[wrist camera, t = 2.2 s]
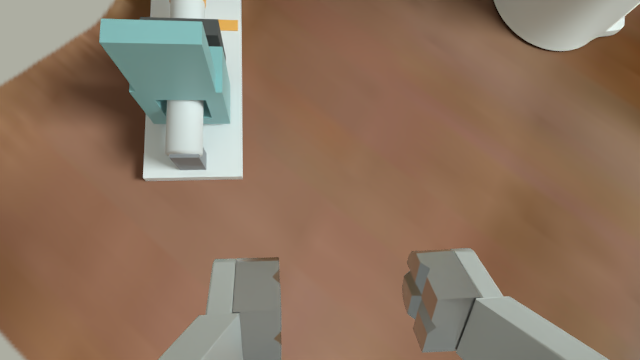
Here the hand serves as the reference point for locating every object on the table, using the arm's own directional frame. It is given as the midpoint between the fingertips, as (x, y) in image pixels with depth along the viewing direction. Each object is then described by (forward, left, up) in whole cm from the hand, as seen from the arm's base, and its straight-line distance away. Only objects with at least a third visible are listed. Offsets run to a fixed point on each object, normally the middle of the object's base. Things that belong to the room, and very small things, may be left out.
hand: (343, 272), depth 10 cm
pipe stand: (-15, -17, -29) cm, 37 cm away
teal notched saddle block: (-11, -15, -27) cm, 33 cm away
